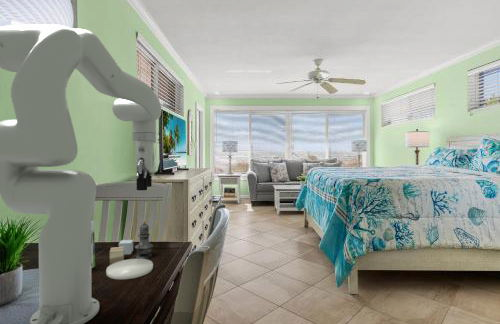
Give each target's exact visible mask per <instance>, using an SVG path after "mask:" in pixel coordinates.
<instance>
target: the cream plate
mask: <svg viewBox="0 0 500 324" xmlns="http://www.w3.org/2000/svg"><path fill="white" fill-rule="evenodd" d="M153 269H154V263H153V261H152V260H150V259H148V258H147V259H137V258H129V259H124V260H122V261H119V262H116V263H112V264H109V266H107V267H106V270H105V273H106V277H108V278H110V279H114V280H131V279H136V278H137V279H138V278H140V277H143V276H145V275H148V274H149V273H151V272H152V270H153Z"/></svg>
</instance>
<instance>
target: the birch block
mask: <svg viewBox="0 0 500 324" xmlns="http://www.w3.org/2000/svg"><path fill="white" fill-rule="evenodd" d="M122 260H125V255H124V247H119V246H118V247H110V250H109V265H111V264H113V263H116V262H119V261H122Z"/></svg>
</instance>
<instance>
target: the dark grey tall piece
mask: <svg viewBox="0 0 500 324" xmlns="http://www.w3.org/2000/svg"><path fill="white" fill-rule="evenodd" d="M149 230H150V229H149V225H148V224H147V223H146V222H145V221H143V223H142V224H141V225H140V226H139V234H138V237H139V240H138V241H139V242H138V244H136V245H135V246H134V248H135V250H136V253H137V255H136V256H135V259H147V260H148V259H149V258H152V257H153V254H152V253H151V251H152V250H153V247H154V244H152V243H150V236H151V235H150V233H149Z"/></svg>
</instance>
